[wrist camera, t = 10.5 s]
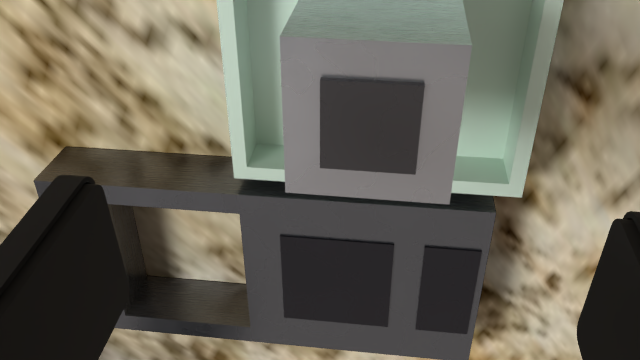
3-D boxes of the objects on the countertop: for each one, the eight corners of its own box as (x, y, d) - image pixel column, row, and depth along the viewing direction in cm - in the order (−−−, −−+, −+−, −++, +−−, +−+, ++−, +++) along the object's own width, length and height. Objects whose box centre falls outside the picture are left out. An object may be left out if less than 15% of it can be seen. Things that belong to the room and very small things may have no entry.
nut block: (318, -39, 23) (278, 39, 16) (455, -35, 22) (472, 47, 16) (319, 85, 26) (284, 195, 19) (440, 91, 25) (449, 208, 18)
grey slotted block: (65, 146, 30) (32, 181, 27) (488, 173, 27) (496, 214, 25) (102, 285, 35) (77, 325, 32) (464, 317, 32) (468, 363, 30)
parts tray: (223, -144, 22) (203, -135, 20) (573, -141, 20) (591, -131, 18) (247, 149, 28) (234, 178, 26) (513, 165, 27) (521, 197, 25)
